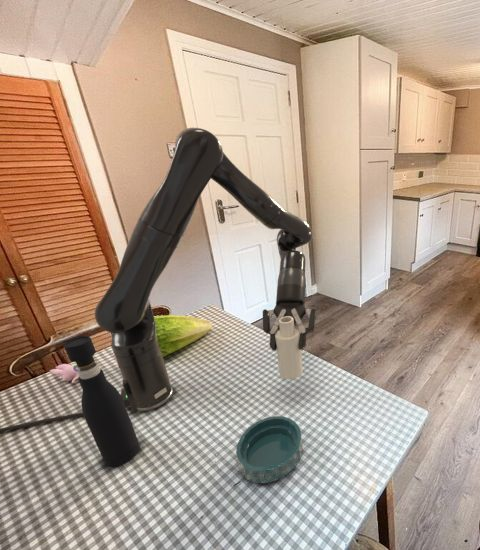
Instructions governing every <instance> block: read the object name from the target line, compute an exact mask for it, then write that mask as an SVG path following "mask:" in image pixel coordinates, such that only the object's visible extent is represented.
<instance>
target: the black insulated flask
mask: <svg viewBox="0 0 480 550" xmlns="http://www.w3.org/2000/svg"><path fill="white" fill-rule="evenodd" d="M63 348H64V351H65V353H66V355H67V358H68V360H69V362H72V363H73V362H74V363H76V365H77V367H78V369H77V373H78V374H79V375H78V376H79V378H78V379H77V380H78V382H79V384H80V388H81V389H82V393H81V401H80V402H81V403H80V404H81V411H82V412H83V415H84V416H83V417H84V420H85V422H86V424H87V426H88V428H89V431H90V433H91V435H92V438H93V440H94V442H95V445H96V446H97V449H98V451H99V454H100V456H101V457H102V460H103V463H104V465H105V466H106V467H108V468H115V467H119V466H120V467H121V466H122V465H124V464H127V463H128V462H129V461H131V460H132V459H133V458H135V457H136V455H137V454H138V452H139V451H140V448H141V444H140V441H139V439H138V436H137V433H136V430H135V428H134V426H133V423H132V420H131V418H130V414H129V412H128V410H127V407H126V406H125V404H124V401H123V398H122V396H121V392H120V391H118V389H117V388H116V386H114V385H113V384H112V383H111V382H110V381H108V380H107V377H106V375H105V373H104V370H103V369H102V368H101V367H100V364H99V363H98V362H97V361H96V360H95V358H94V355H96V352H97V350H96V348H95V345H94V342H93V340H92V338H91V337H90V336H88V335H84V336H77V337H73V338H72V339H70V340H68V341H66V342H65V343H64V344H63ZM82 412H81V413H82Z"/></svg>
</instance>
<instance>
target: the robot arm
mask: <svg viewBox="0 0 480 550" xmlns="http://www.w3.org/2000/svg"><path fill="white" fill-rule="evenodd" d="M174 142H175V143H174V146H175V147H174V151H173V155H172V158H171V162H170V163H169V164H170V165H169V167H168V170H167V172H166V175H165V177H164V179H163V181H162V182H161V184H160V186H159V187H158V188H157V190H156V191H155V192H154V193H153V195H152V196H151V198H150V199H149V200H148V202H147V203H146V205H145V207H144V208H143V210H142V212H141V213H140V215H139V217H138V219H137V221H136V224H135V226H134V227H133V229H132V233H131V234H130V238H129V240H128V242H127V245H126V247H125V250H124V253H123V256H122V259H121V261H120V265H119V268H118V270H117V273H116V276H115V277H114V279H113V280H112V282H111V284H110V285H109V287H108V288H107V290H106V291H105V293H104V295H103V296H102V297H101V298H100V300H99V301H98V302H97V304H96V306H95V308H94V320H95V322H96V324H97V325H98V326H99V327H100V329H102V330H103V331H106V332H108V333H111V341H110V342H111V343H110V345H111V349H112V353H113V355H114V358H115V360H116V363H117V367H118V369H119V371H120V375H121V377H122V387H123V388H121V390H120V395H121V396H122V398H123V401H124V404H125V406H126V408H130V409H131V412H132V413H136V412H149V411H153V410H155V409H157V408H159V407H161V406H163V405H165V404H166V403H167V402H168V401H169V400H170V399H171V398H172V397H173V395H174V389H173V387H172V384H171V380H170V377H169V374H168V371H167V367H166V363H165V359H164V357H163V356H162V353H161V349H160V346H159V343H158V339H157V335H156V324H155V320H154V317H155V315H154V312H153V307H152V304H151V301H150V296H151V293H152V291H153V288H154V286H155V285H156V282H157V281H158V279H159V278H160V277H161V276H162V274H163V272H164V271H165V269H166V268H167V267H168V265H169V263H170V262H171V261H172V258H173V257H174V256H175V253H176V252H177V251H178V249H179V246H180V244H181V242H182V240H183V238H184V236H185V234H186V232H187V229H188V227H189V225H190V223H191V220H192V218H193V215H194V212H195V210H196V208H197V204H198V202H199V199H200V197H201V195H202V194H203V192H204V190H205V188H206V187H207V185H208V183H209V182H210V181H211V180H213V181H214V182H215V183H217V185H218V186H220V187H221V188H222V189H223V190H225V191H226V192H227V193H228V194H229V195H230V196H231V197H232V198H234V199H235V200H236V201H237V202H238V203H239V205H241V207H243V208H244V209H245V210H246V211H247V212H248V213H249V214H250V215H251V216H252V217H254V218H255V219H256V220H257V221H258V222H260V224H262V225H263V226H264V227H266V228H267V229H268V230H279V231H278V232H277V235H276V244H277V249H278V254H279V257H280V262H279V273H278V278H277V287H276V298H275V306H274V308H273V309H266V308H265V309H263V310H262V331H263V332H264V333H265V334H267V335H269V348H270V349H271V351H273V352H274V351H275V352H277V348H276V339H275V333H276V332H277V331H278V330H280V326H279V319H280V318H282V317H285V316H290V317H292V318H293V319H294V326H295V325H297V327H298V330H299V331H300V342H299V349H300V350H301V351H303V350H304V348H306V346H307V335H308V334H311V333H314V331H315V326H316V325H315V324H316V318H317V310H316V309H315V308H314V307H313V308H306V288H307V284H306V283H307V279H306V264H307V261H306V260H307V259H306V255H305V254H304V253H303V252H302V251H300V250H297V248H300V247H303V246H305V245H308V244H310V242H311V241H312V240H313V230H312V228H311V226H310V224H308V223H307V222H306V221H305V220H304V219H303V218H301V217H299V216H298V215H296V214H293V213H292V212H291V211H288V210H286V209H285V208H283V207H282V206H281V205H280V204H279V203H278V202H277V201H276V200H275V199H274V198H273V197H272V196H271V195H270V194H268V193H267V192H266V191H265V190H264V189H262V188H261V187H260V186H259V185H258V184H257V183H256V182H254V181H253V180H251V178H249V177H248V176H247V175H246V174H244V173H243V172H242V171H241V170H240V169H239V168H238V167H237V166H236V165H235V164H234V163H233V162H232V161H231V160H230V159H229V157H228V156H227V155H226V154H225V152H224V150H223V146H222V143H221V142H220V140H219V139H218V137H217V136H216V135H215V134H214V133H212V132H210V131H209V130H207V129H204V128H201V127H188V128H184V129H183V130H181V131H180V132H179V133H178V134H177V136H176V138H175V141H174ZM306 314H307V317H308V318H309V320H308V326H307V327H305V325H304V324H303V322H302V319H303V318H304V316H305V315H306ZM273 316H275V318H276V319H275V321H274V323H273V326H272V328H271V319H272V318H273ZM78 417H84V415H83V412H76V413H70V414H66V415H60V416H55V417H50V418H45V419H40V420H34V421H29V422H25V423H20V424H15V425H10V426H6V427H1V428H0V433H3V432H9V431H12V430H17V429H22V428H26V427H32V426H36V425H37V426H38V425H40V424H46V423H52V422H57V421H58V422H59V421H62V420H68V419H72V418H78Z"/></svg>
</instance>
